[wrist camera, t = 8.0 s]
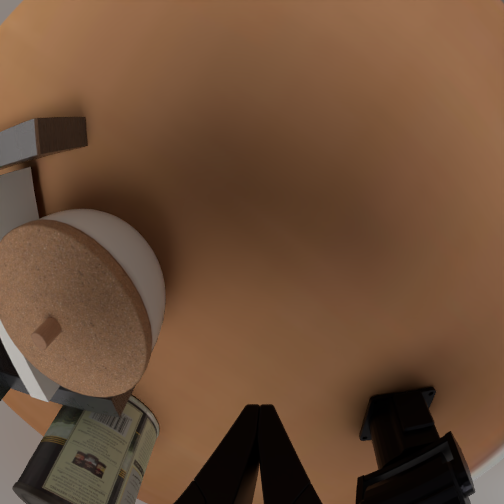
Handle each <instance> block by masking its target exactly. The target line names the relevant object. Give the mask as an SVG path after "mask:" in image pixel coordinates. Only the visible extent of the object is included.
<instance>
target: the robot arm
mask: <svg viewBox="0 0 504 504" xmlns="http://www.w3.org/2000/svg"><path fill="white" fill-rule="evenodd" d="M435 393H436V391H435V389H434V387H429V388H423V389H418V390H412V391H406V392H400V393H393V394H386V395H378V396H374V397H372V398H371V399H370V401H369V404H368V408H367V412H366V415H365V418H364V422H363V425H362V429H361V432H360V435H359V437H360V440H361V441H365V440H372V443H373V447H374V451H375V456H376V460H377V465H378V470H377V471H375V472H372V473H370V474H368V475H365V476H364V475H363V476H360V477H358V480H357V490H356V504H471V503H470V500H469V497H468V496H470V495H472V494H473V493H475V489H474V485H473V481H472V478H471V474H470V471H469V468H468V465H467V463H466V460H465V458H464V455H463V453H462V451H461V448H460V447H459V445H458V443H457V441H456V439H455V438H454V436H453V434H452V432H451V431H449V432H448V433H446V434H445V436H443V437H441V438H440V437H439V434H438V432H437V429H436V427H435V425H434V420H433V418H432V415H431V413H430V411H429V407H430V405H431V402H432V400H433V398H434V395H435ZM259 463H260V473H261V482H262V491H263V500H264V504H322V502H321V500H320V499H319V497H318V495H317V493H316V491H315V489H314V488H313V486H312V484H311V482H310V480H309V478H308V476H307V474H306V472H305V470H304V468H303V466H302V464H301V462H300V460H299V458H298V456H297V454H296V452H295V449H294V447H293V445H292V443H291V441H290V439H289V437H288V435H287V433H286V431H285V429H284V427H283V424H282V422H281V420H280V418H279V416H278V414H277V412H276V409H275V407H274V406H273V405H272V404H262V405H260V406H259V405H258V404H248V405H246V406H245V407H244V409H243V410H242V412H241V413H240V415H239V416H238V418H237V419H236V421H235V422H234V424H233V425H232V427H231V428H230V430H229V431H228V433H227V434H226V435H225V437H224V438H223V440H222V441H221V443H220V444H219V445H218V447H217V448H216V450H215V451H214V452H213V454H212V455H211V457H210V458H209V459H208V461H207V462H206V463H205V465H204V466H203V468H202V469H201V470H200V472H199V473H198V474H197V476H196V477H195V478H194V481H192V482H191V483H190V485H189V486H188V487H187V489H186V490H185V491H184V492H183V493H182V495H181V496H180V497H179V498H178V499H177V500H176V501H175V503H174V504H252V501H253V496H254V491H255V486H256V481H257V476H258V471H259Z"/></svg>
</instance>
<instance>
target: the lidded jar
mask: <svg viewBox="0 0 504 504" xmlns="http://www.w3.org/2000/svg"><path fill="white" fill-rule="evenodd" d="M165 304H166V292H165V283H164V278H163V273H162V270H161V267H160V264H159V261H158V259H157V258H156V256H155V254H154V252H153V250H152V249H151V247H150V246H149V244H148V243H147V241H146V240H145V239H144V238H143V237H142V236H141V235H140V233H139V232H138V231H137V230H135V229H134V228H133V227H132V226H131V225H129V224H128V223H127V222H125V221H123V220H122V219H120V218H119V217H116V216H114V215H112V214H109V213H106V212H102V211H98V210H94V209H71V210H65V211H60V212H56V213H52V214H50V215H47V216H45V217H42V218H40V219H38V220H34V221H30V222H27V223H25V224H23V225H20V226H18V227H16V228H14V229H12V230H11V231H10V232H8V233H7V234H6V235H5V236H4V237H3V238H2V240H1V241H0V320H1V322H2V324H3V326H4V328H5V330H6V332H7V334H8V335H9V337H10V338H11V340H12V341H13V343H14V344H15V346H16V347H17V348H18V349H19V351H20V352H21V353H22V355H23V356H24V357H25V358H26V359H27V360H28V361H29V362H30V363H31V364H32V365H33V366H34V367H35V368H36V369H38V370H39V371H40V372H41V373H42V374H44V375H45V376H46V377H48V378H49V379H51V380H52V381H54V382H56V383H57V384H59V385H61V386H62V387H65V388H67V389H69V390H71V391H74V392H77V393H80V394H83V395H87V396H93V397H110V396H116V395H119V394H122V393H125V392H127V391H128V390H130V389H131V388H133V387H134V386H135V385H136V384H137V383H138V382H139V381H140V379H141V377H142V375H143V373H144V372H145V370H146V368H147V366H148V363H149V359H150V356H151V353H152V351H153V349H154V346H155V344H156V342H157V340H158V336H159V333H160V330H161V326H162V323H163V320H164V312H165Z"/></svg>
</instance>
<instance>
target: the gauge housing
mask: <svg viewBox="0 0 504 504" xmlns="http://www.w3.org/2000/svg"><path fill="white" fill-rule="evenodd" d="M85 146H87V136H86V123H85V117H57V118H34V119H31V120H29V121H26V122H24V123H21V124H19V125H16V126H14V127H11V128H9V129H6V130H4V131H2V132H0V170H1V169H4V168H7V167H10V166H13V165H17V164H20V163H23V162H27V161H30V160H34V159H37V158H41V157H44V156H48V155H52V154H56V153H60V152H64V151H68V150H72V149H76V148H81V147H85ZM134 387H135V386H134ZM134 387H133V388H131V389H130V390H128V391H127V392H125V393H122V394H119V395H116V396H110V397H93V396H87V395H83V394H80V393H77V392H74V391H71V390H69V389H67V388H65V387H62V386H61V385H60V387H59V388H58V389H57V391H56V392H55V394H54V395H53V397H52V398H51V399H50V401H52V402H55V403H59V404H62V405H66V406H70V407H74V408H78V409H82V410H86V411H90V412H95V413H99V414H104V415H109V416H114V417H119V418H120V416H121V414H122V412H123V410H124V408H125V406H126V404H127V402H128V400H129V398H130V396H131V394H132V391H133V389H134ZM10 388H12V389H14V390H17V391H20V392H23V393H26V394H29V392H28V390H27V389H26V387H25V385H24V383H23V382H22V380H21V378H20V376H19V374H18V373H17V371H16V369H15V367H14V365H13V363H12V361H11V359H10V357H9V355H8V353H7V351H6V349H5V347H4V345H3V343H2V341H1V338H0V401H1V400H2V398H3V397H4V396H5V395H6V393H7V392H8V391H9V390H10ZM29 395H30V394H29Z"/></svg>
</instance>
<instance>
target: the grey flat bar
mask: <svg viewBox="0 0 504 504" xmlns="http://www.w3.org/2000/svg"><path fill="white" fill-rule="evenodd" d="M38 219H39V215H38V210H37V204H36V199H35V193H34V187H33V180H32V173H31V167H28V168H24V169H20V170H17V171H13V172H10V173H6V174H3V175H0V241H1V240H2V238H3V237H4V236H5V235H6V234H7V233H8V232H10V231H11V230H12V229H14V228H16V227H18V226H20V225H23V224H25V223H27V222H30V221H34V220H38ZM0 338H1V341H2V343H3V345H4V347H5V349H6V351H7V353H8V355H9V357H10V359H11V361H12V363H13V365H14V367H15V369H16V371H17V373H18V374H19V376H20V378H21V380H22V382H23V383H24V385H25V387H26V389H27V390H28V392H29V394H30V395H31V397H34V398H37V399H40V400H43V401H46V402H49V401H50V399H51V398H52V397H53V395H54V394H55V392H56V391H57V389H58V388H59V387H60V385H59V384H57V383H56V382H54V381H52V380H51V379H49V378H48V377H46V376H45V375H44V374H42V373H41V372H40V371H39V370H38V369H36V368H35V367H34V366H33V365H32V364H31V363H30V362H29V361H28V360H27V359H26V358H25V357H24V356H23V355H22V353H21V352H20V351H19V349H18V348H17V347H16V346H15V344H14V343H13V341H12V340H11V338H10V337H9V335H8V334H7V332H6V330H5V328H4V326H3V324H2V322H1V320H0Z"/></svg>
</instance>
